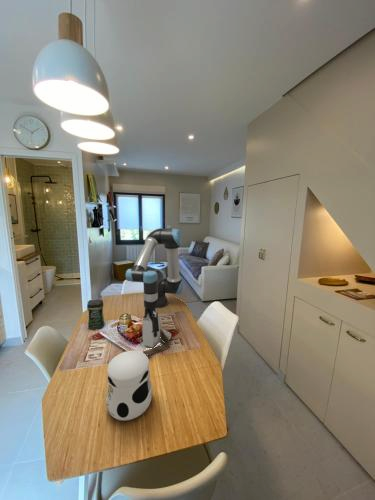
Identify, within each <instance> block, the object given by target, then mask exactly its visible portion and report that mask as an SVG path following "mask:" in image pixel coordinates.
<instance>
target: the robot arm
mask: <svg viewBox="0 0 375 500" xmlns="http://www.w3.org/2000/svg"><path fill="white" fill-rule="evenodd" d="M182 243H183V236H182V232H181V230H180V229H177V228H156V229H154V230H152V231H151V232H150V233H149V234H148V235H147V236H146V237H145V239H144V245H143V247H142V248H141V251H140V253H139V255H138V258H137V259H136V261H135V263H134V265H133V266H132V268H128V269H127V270H126V271H125V280H126V281H127V282H132V283H143V295H142V297H143V307H144V318H146V317H147V314H149V317H150V319H151V321H152V329H153V331H152V342H156V341H157V332H158V331H159V324H158V316H159V314H158V312H157V310H156V308H160V309H161V308H165V307H166V306H168V303H169V302H168V299H167V296H166V295H167V294H172V295H173V294H175V295H181V294H182V292H183V288H184V283H185V282H184V279H182V276H181V275H180V264H179V261H180V260H179V248H181V246H182ZM159 245H163V246H164V247H163V248H164V249H165V250H166V257H167V272H168V273H167V277H166V276H165V272H164V271H163V269H161V268H156V269H151V270H150V269H147V267H148V265H149V263H150V260H151V259H152V256H153V254H154V251H155V249H156V248H157V247H158V246H159ZM151 316H153V317H151ZM144 318H143V319H144Z"/></svg>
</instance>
